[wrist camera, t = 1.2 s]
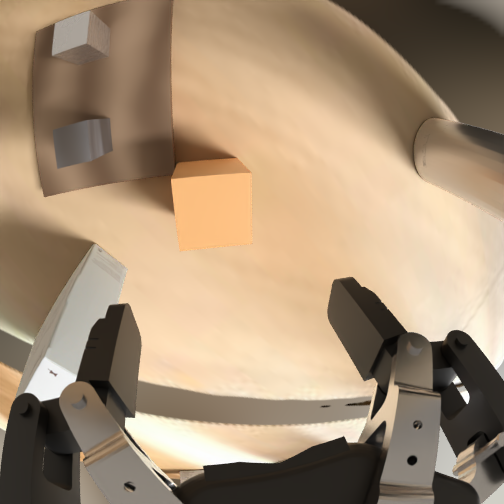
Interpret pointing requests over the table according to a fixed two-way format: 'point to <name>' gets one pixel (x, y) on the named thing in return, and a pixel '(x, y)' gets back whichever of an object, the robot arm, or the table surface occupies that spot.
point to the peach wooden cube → (212, 203)
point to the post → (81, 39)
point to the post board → (107, 103)
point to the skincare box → (72, 324)
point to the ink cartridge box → (189, 474)
